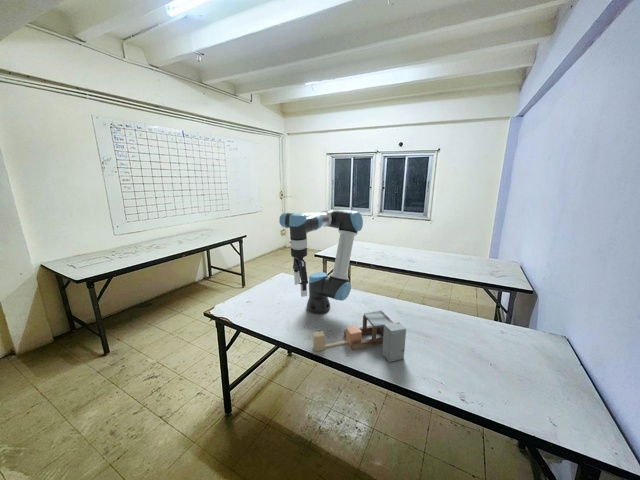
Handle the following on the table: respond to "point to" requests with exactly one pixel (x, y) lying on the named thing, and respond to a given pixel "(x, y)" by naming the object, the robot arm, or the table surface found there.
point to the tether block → (351, 336)
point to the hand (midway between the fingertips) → (300, 289)
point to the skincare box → (394, 341)
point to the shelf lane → (372, 329)
